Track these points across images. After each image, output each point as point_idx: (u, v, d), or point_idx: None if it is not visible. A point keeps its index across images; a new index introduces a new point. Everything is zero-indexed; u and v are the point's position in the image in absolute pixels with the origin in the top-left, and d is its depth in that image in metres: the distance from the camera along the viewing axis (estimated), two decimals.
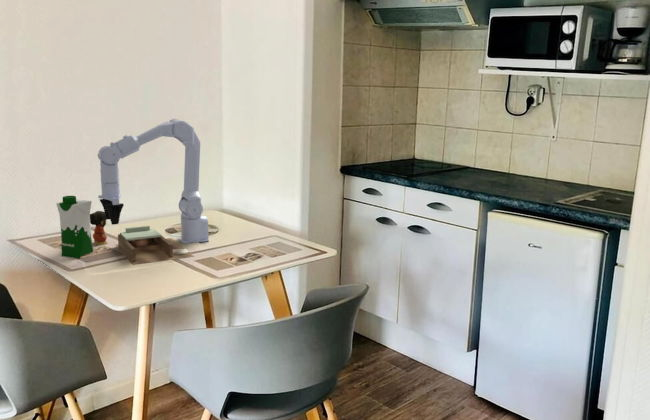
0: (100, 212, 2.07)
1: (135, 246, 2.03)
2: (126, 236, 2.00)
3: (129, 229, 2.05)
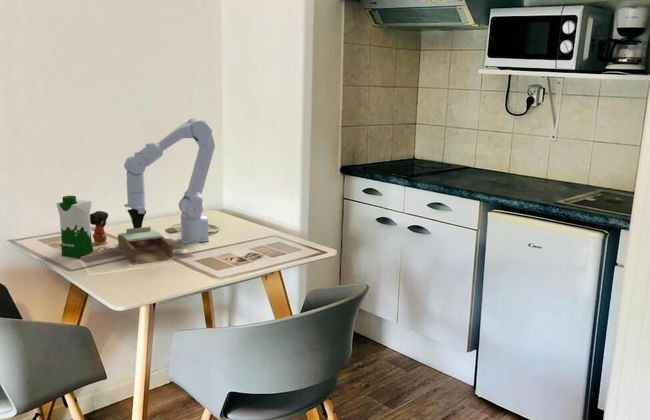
0: (100, 212, 2.07)
1: (135, 246, 2.03)
2: (127, 237, 1.99)
3: (130, 230, 2.04)
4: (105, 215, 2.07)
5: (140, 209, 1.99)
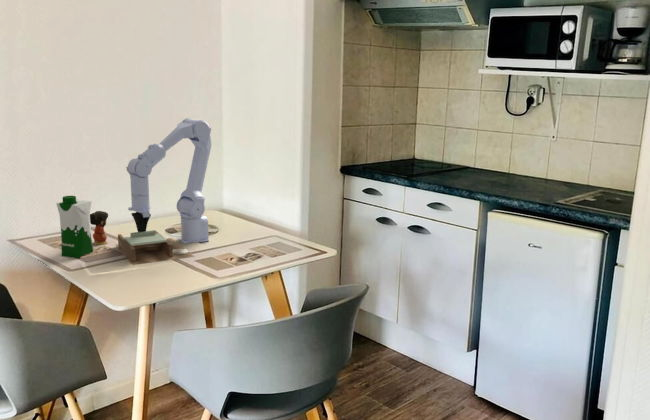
0: (100, 212, 2.07)
1: (135, 246, 2.03)
2: (131, 241, 1.94)
3: (134, 234, 1.99)
4: (105, 215, 2.07)
5: (145, 213, 1.94)
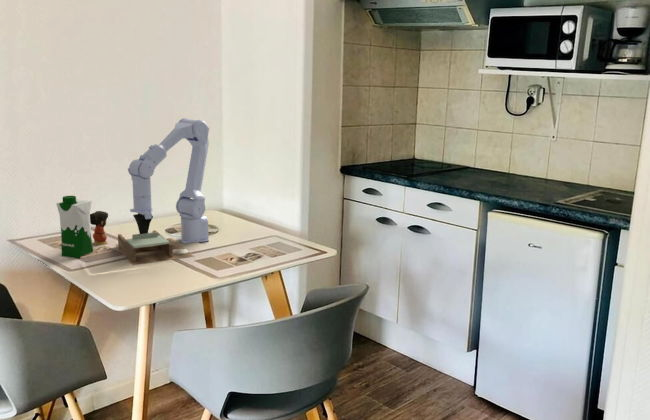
0: (100, 212, 2.07)
1: None
2: (133, 243, 1.92)
3: (136, 236, 1.97)
4: (105, 215, 2.07)
5: (147, 214, 1.92)
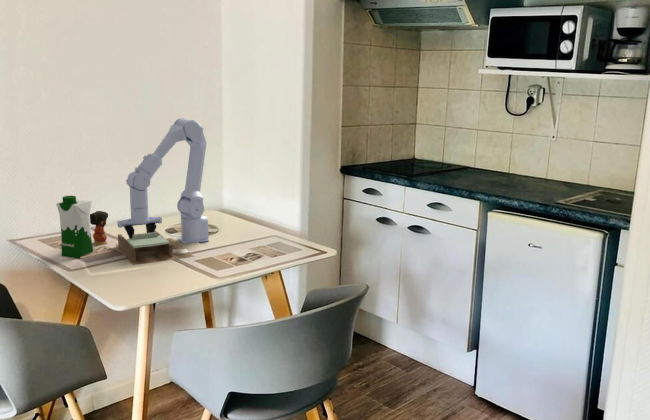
0: (100, 212, 2.07)
1: None
2: (133, 243, 1.92)
3: (136, 236, 1.97)
4: (105, 215, 2.07)
5: (117, 222, 2.00)
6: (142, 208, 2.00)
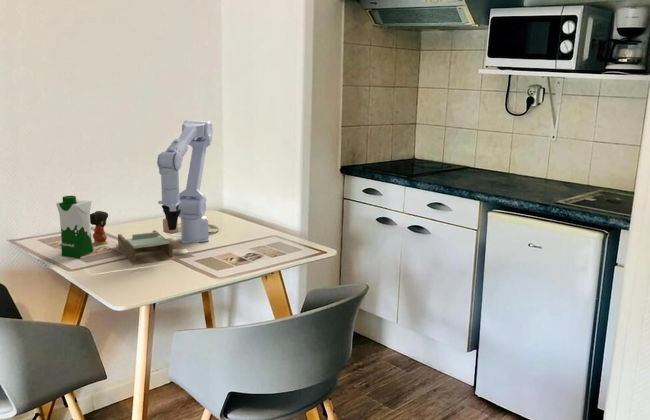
0: (100, 212, 2.07)
1: None
2: (133, 243, 1.92)
3: (136, 236, 1.97)
4: (105, 215, 2.07)
5: (171, 207, 1.91)
6: None
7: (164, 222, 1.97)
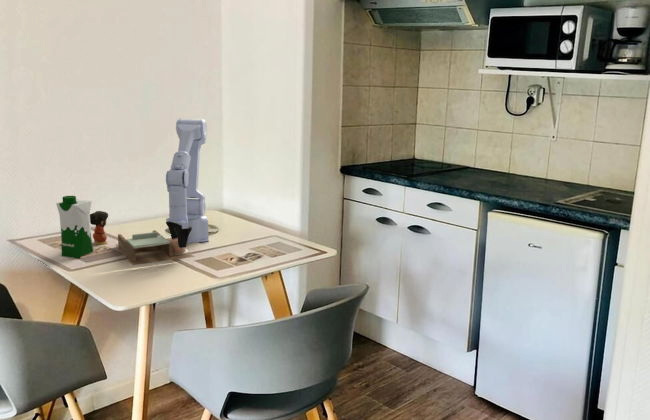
0: (100, 212, 2.07)
1: (182, 249, 1.99)
2: (133, 243, 1.92)
3: (136, 236, 1.97)
4: (105, 215, 2.07)
5: (184, 224, 1.92)
6: None
7: (173, 243, 1.98)
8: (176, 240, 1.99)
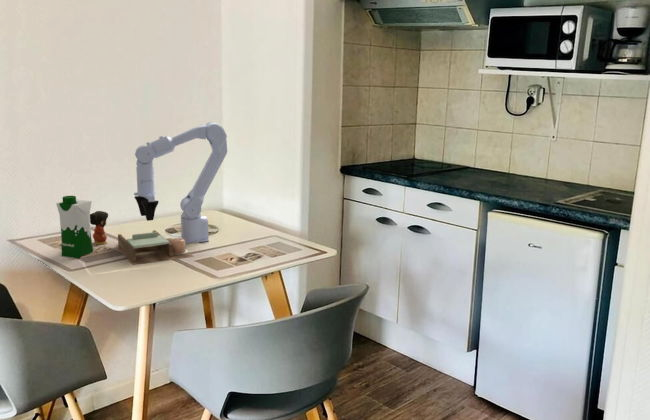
0: (100, 212, 2.07)
1: (182, 249, 1.99)
2: (133, 243, 1.92)
3: (136, 236, 1.97)
4: (105, 215, 2.07)
5: (150, 197, 2.02)
6: None
7: (173, 243, 1.98)
8: (176, 240, 1.99)
